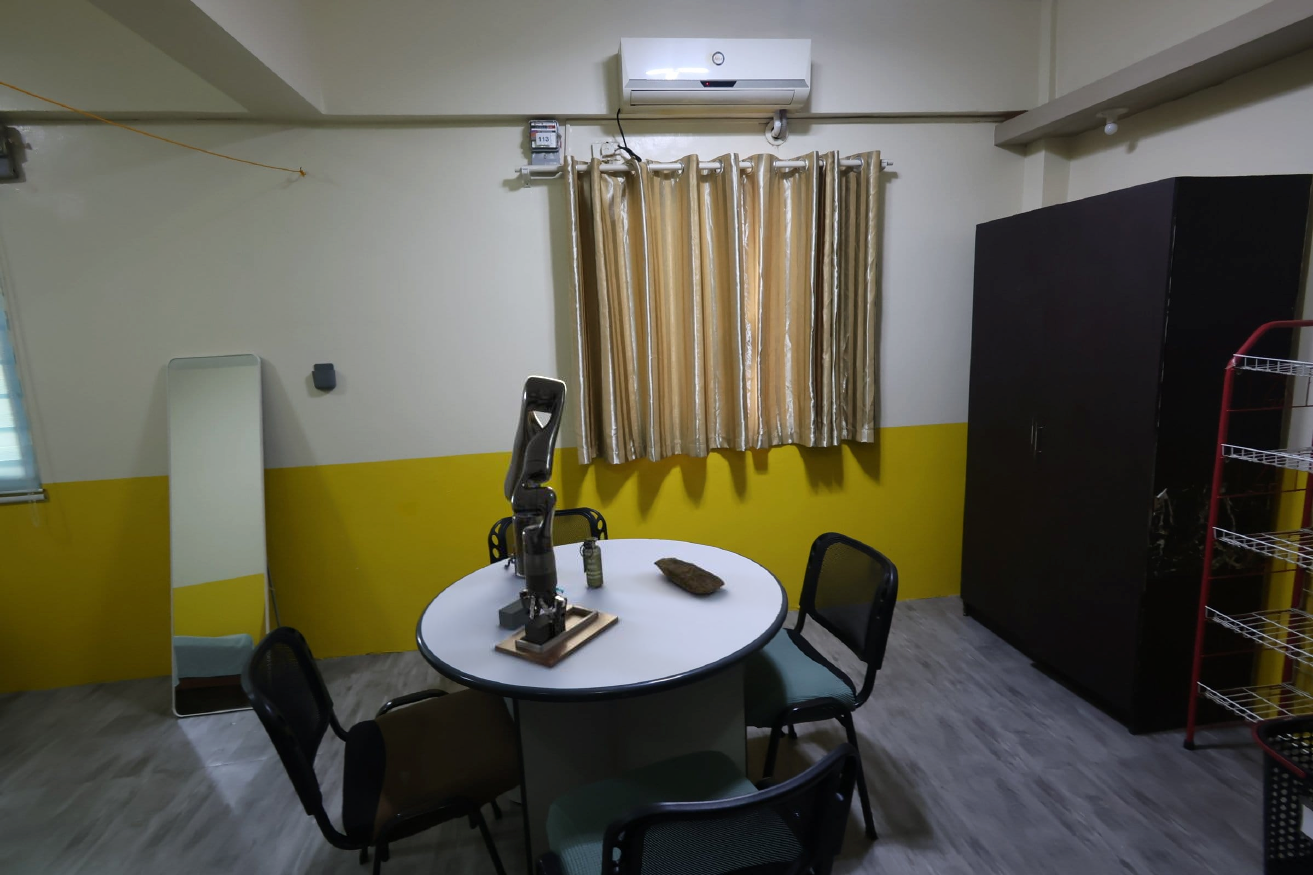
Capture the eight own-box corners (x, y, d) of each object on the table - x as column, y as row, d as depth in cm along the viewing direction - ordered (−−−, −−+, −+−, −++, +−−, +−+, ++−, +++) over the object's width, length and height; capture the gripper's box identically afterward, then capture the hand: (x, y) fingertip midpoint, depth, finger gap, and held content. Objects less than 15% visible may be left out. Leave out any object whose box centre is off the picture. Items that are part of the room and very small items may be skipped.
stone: (702, 600, 170) (701, 580, 169) (649, 573, 191) (648, 555, 191) (731, 590, 175) (731, 571, 174) (677, 564, 197) (676, 547, 196)
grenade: (605, 582, 186) (601, 535, 183) (601, 590, 180) (598, 541, 178) (585, 583, 187) (581, 535, 184) (581, 590, 181) (577, 542, 179)
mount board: (495, 649, 148) (494, 639, 148) (565, 607, 170) (564, 598, 169) (551, 667, 139) (550, 656, 138) (618, 620, 160) (617, 611, 160)
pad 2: (525, 641, 148) (524, 623, 147) (550, 625, 155) (549, 609, 155) (541, 645, 145) (539, 628, 144) (566, 629, 153) (564, 612, 152)
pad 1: (499, 626, 161) (498, 610, 160) (524, 612, 168) (522, 597, 168) (513, 630, 158) (511, 613, 157) (537, 616, 166) (536, 600, 165)
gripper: (573, 567, 147) (578, 633, 149) (529, 558, 154) (535, 621, 157) (552, 578, 140) (558, 647, 143) (507, 568, 148) (513, 634, 151)
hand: (546, 633), depth 150 cm, fingers closed on pad 2, 5 cm apart
